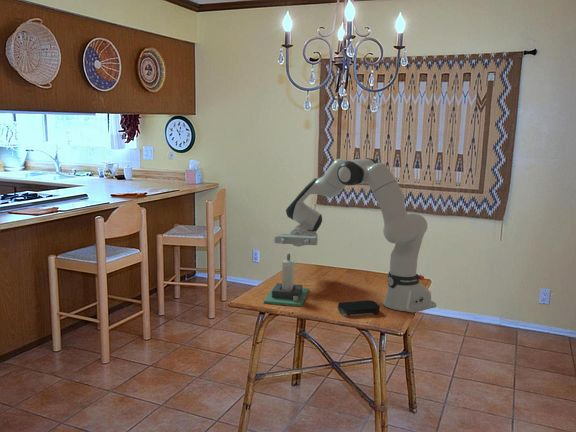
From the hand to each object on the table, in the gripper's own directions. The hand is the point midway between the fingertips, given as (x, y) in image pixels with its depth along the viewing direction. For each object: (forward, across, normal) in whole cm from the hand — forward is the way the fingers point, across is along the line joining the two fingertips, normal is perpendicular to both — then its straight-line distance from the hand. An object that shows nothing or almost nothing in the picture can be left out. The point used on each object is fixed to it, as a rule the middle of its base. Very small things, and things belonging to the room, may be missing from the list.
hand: (293, 242), depth 236 cm
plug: (+11, -1, +21) cm, 23 cm away
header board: (+11, -1, +22) cm, 24 cm away
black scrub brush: (+22, +31, +23) cm, 45 cm away
